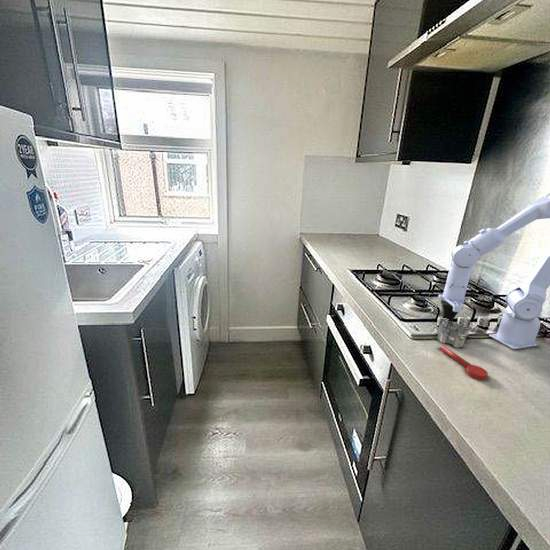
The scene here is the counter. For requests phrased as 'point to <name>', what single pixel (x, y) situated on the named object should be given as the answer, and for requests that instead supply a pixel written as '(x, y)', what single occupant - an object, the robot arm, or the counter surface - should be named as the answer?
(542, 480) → the counter surface
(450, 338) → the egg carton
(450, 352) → the spoon
